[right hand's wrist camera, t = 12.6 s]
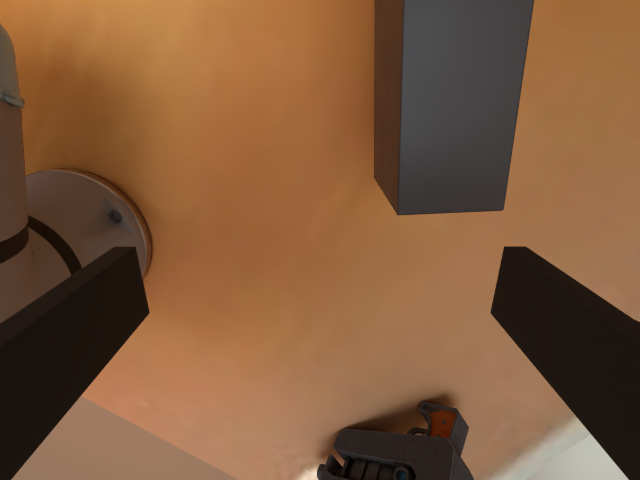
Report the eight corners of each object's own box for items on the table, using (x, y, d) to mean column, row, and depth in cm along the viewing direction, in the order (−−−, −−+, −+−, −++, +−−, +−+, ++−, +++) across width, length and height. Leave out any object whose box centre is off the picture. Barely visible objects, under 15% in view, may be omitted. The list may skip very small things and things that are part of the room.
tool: (482, 427, 43) (467, 577, 32) (359, 416, 55) (318, 522, 45) (462, 395, 41) (439, 543, 30) (339, 390, 53) (292, 495, 43)
